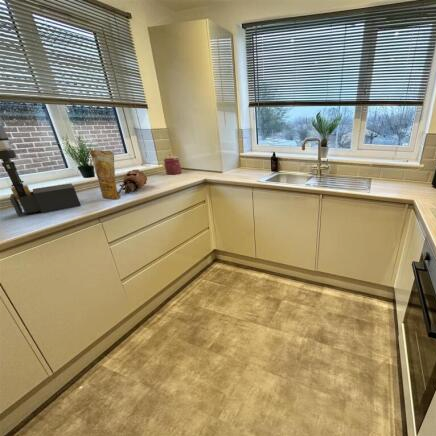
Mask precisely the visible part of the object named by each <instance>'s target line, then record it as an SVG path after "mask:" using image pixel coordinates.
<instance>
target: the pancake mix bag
mask: <svg viewBox="0 0 436 436" xmlns="http://www.w3.org/2000/svg"><path fill="white" fill-rule="evenodd" d="M89 153H90V154H89V155H90V156H91V160H92V163H93V167H94V170H95V174H96V178H97V180H98V185H99V189H100V192H101V196H102V198H105V199H110V200H117V199H121V196H120V194H118V192H119V190H118V188H117V182H116V173H115V172H116V169H115V154H114V152H113V151H111V150H101V149H99V150H98V149H91V150H90V151H89Z"/></svg>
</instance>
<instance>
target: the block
mask: <svg viewBox="0 0 436 436" xmlns="http://www.w3.org/2000/svg"><path fill="white" fill-rule="evenodd" d="M23 188H24V190H25V192H26V195H27V196H31V195H32V194H31V192H32V191H31V189H30V188H29V186H28V184H25V185H24V184H23ZM10 190H11V192H12V194H14V196H15V198H16V200H18V201H19V199H18V197H19V196H18V194H17V191H16V189H15V187H14V186H11V189H10Z"/></svg>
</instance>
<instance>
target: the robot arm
mask: <svg viewBox="0 0 436 436" xmlns="http://www.w3.org/2000/svg"><path fill="white" fill-rule="evenodd" d="M13 143H14V142H12V141H10V139H9V137H8V134H7V132H6V129H5V128H4V125H3V122H2V121H1V120H0V160H1V161H2V162H1V166H2V167H3V168H4V170H5V172H6V173H7V175H8V177H9V180H10V181H11V187H15V189H16V191H17V194H18V196H19V197H25V196H27V195H26V192H25V190H24V188H23V186H24V183H25V182H24V180H22V179H21V177H20V175H19V173H18V169H17V167H16V163H15V161H12V160H11V159H16V158H18V155H17V153H16V152H15V150H14V149H13Z"/></svg>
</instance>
